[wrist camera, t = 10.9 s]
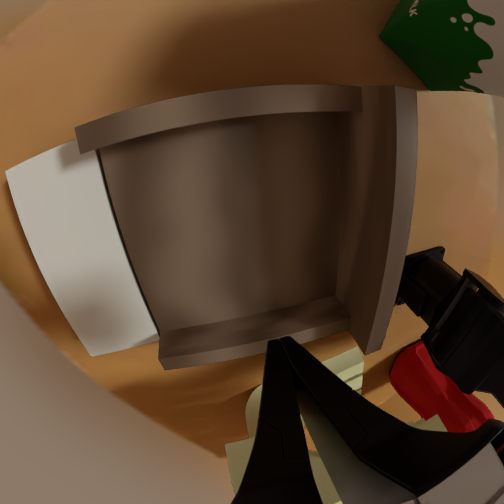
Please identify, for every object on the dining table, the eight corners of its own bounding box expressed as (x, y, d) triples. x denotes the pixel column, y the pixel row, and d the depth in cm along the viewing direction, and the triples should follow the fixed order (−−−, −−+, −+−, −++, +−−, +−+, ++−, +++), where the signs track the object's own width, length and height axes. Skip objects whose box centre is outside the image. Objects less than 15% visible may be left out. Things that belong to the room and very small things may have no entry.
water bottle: (386, 352, 34) (468, 487, 12) (438, 328, 35) (519, 437, 13) (373, 385, 38) (435, 501, 17) (422, 362, 39) (486, 460, 18)
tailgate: (91, 133, 13) (5, 171, 11) (160, 340, 22) (91, 356, 20) (96, 132, 14) (14, 167, 13) (159, 328, 23) (92, 345, 21)
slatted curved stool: (211, 353, 26) (240, 525, 11) (356, 299, 27) (452, 439, 11) (274, 439, 41) (298, 519, 26) (354, 409, 42) (390, 484, 27)
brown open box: (341, 91, 16) (416, 89, 10) (339, 291, 25) (380, 349, 19) (104, 123, 15) (46, 133, 8) (166, 327, 24) (164, 401, 17)
